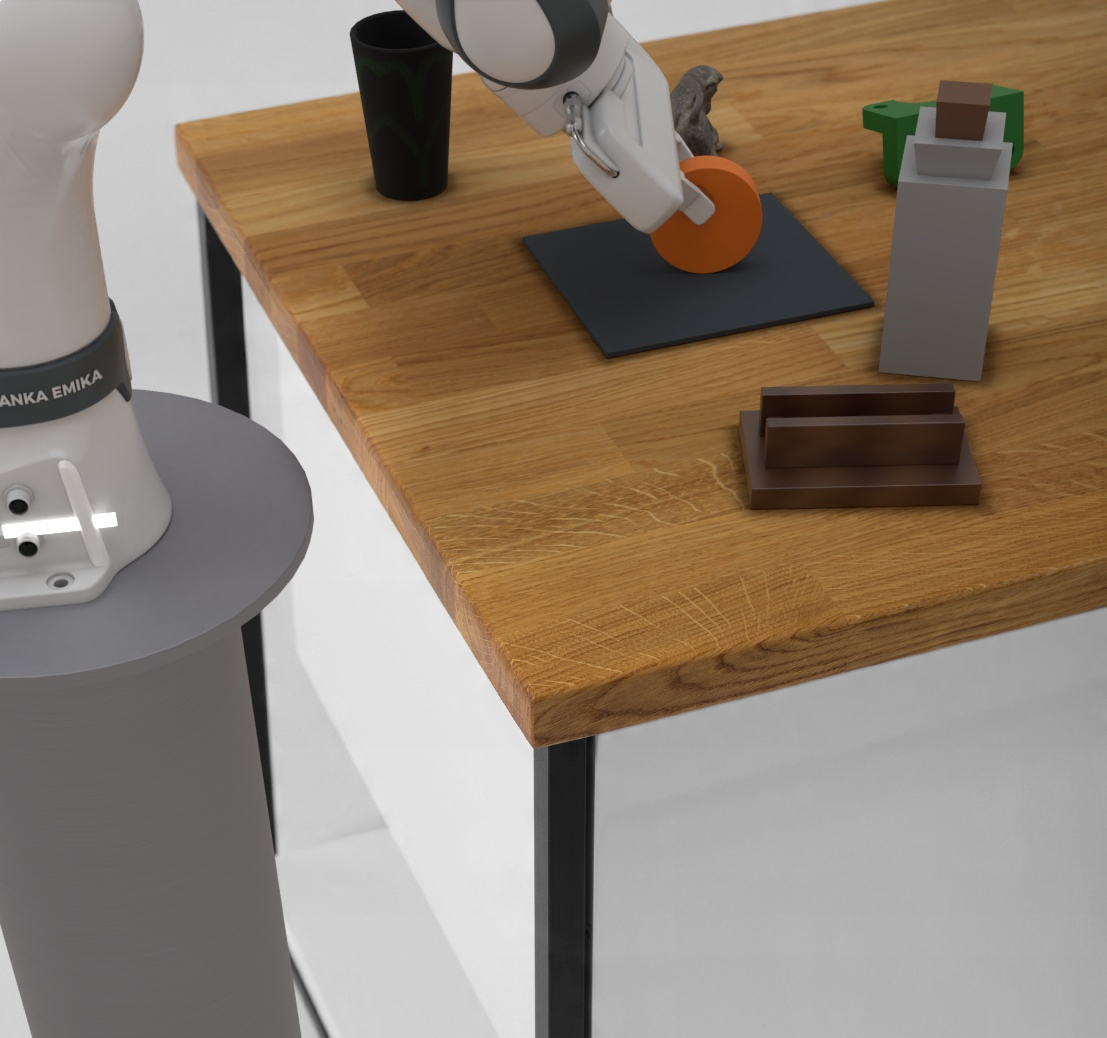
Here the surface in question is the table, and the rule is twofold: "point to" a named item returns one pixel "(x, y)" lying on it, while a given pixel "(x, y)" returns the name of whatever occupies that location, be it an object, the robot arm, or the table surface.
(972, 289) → the perfume bottle
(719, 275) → the mat
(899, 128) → the clamp
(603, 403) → the table surface
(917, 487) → the rack
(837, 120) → the table surface
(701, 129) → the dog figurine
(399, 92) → the cup
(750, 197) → the disc
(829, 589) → the table surface
